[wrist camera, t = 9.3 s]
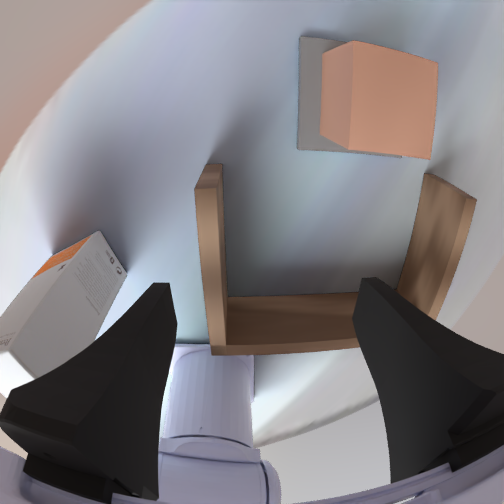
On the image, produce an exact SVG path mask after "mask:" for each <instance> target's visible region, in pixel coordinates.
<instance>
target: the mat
mask: <svg viewBox="0 0 504 504" xmlns="http://www.w3.org/2000/svg"><path fill="white" fill-rule="evenodd" d="M345 43H348V42H343V41H336V40H329V39H322V38H313V37H304V36H301V37H300V38H299V93H298V129H297V149H298V150H314V151H332V152H347V153H359V154H370V155H380V156H389V157H397V158H402V156H401V155H394V154H386V153H377V152H368V151H358V150H348V149H346V148H344V147H343V146H341V145H339V144H337V143H335V142H333V141H331V140H329V139H328V138H326V137H324V136H322V135H320V116H321V91H322V54H323V53H325V52H327V51H329V50H332V49H334V48H336V47H338V46H341V45H343V44H345Z"/></svg>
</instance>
